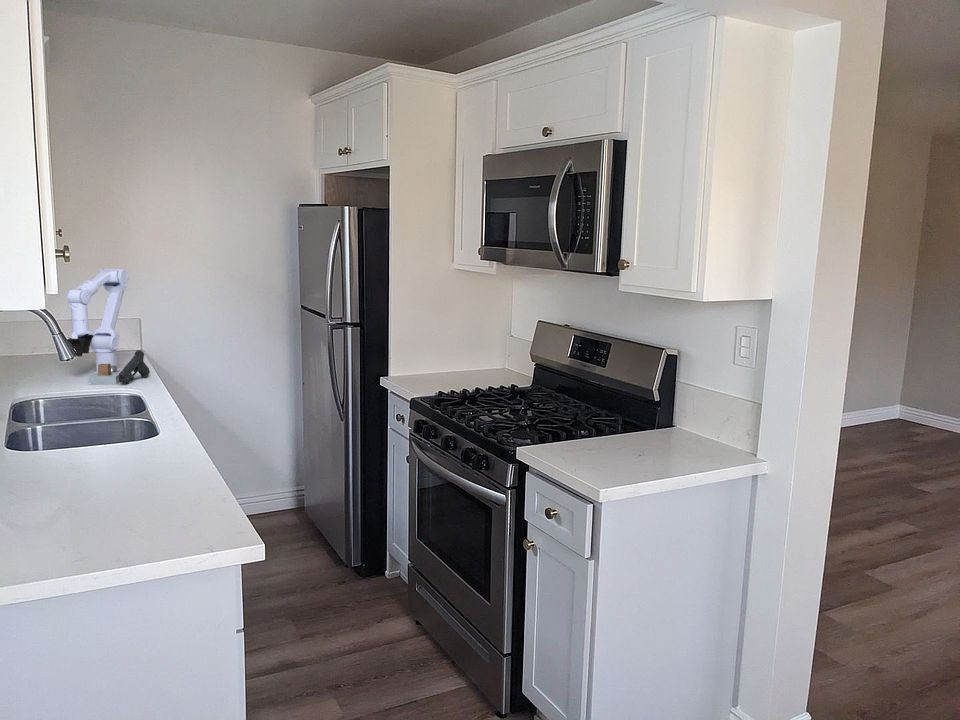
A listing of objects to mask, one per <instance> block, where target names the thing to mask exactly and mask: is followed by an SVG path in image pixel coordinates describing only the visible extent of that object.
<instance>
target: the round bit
mask: <svg viewBox="0 0 960 720" xmlns="http://www.w3.org/2000/svg"><path fill="white" fill-rule="evenodd" d="M117 367H118V365H117V366H115V365H111V372H119V371H118V370H117Z"/></svg>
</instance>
